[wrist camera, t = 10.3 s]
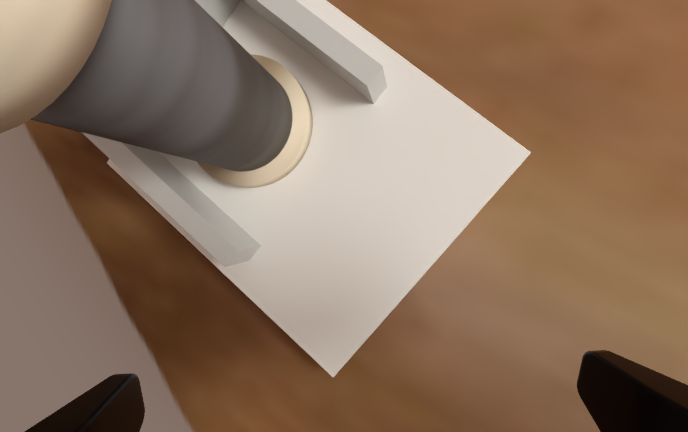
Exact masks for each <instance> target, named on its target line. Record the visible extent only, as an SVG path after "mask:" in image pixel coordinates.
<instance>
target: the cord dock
mask: <svg viewBox="0 0 688 432" xmlns="http://www.w3.org/2000/svg"><path fill="white" fill-rule="evenodd" d="M195 1H196V2H197V3H198V4H199V5H200V6H201V7H202V8H203V9H204V10H205V11H206V12H207V13H208V14H209V15H210V16H211V17H212V18H213V19H214V20H215V21H216V22H218V23H219V24H220V25H221V26H222V27H223V28H224V29H225V30H226V31H227V32H228V33H229V34H230V35H231V36H232V37H233V38H234V39H235V40H236V41H237V42H238V43H239V44H240V45H241V46H242V47H243V48H244V49H245V50H246V51H247V52H248V53H249V54H252V55H260V56H264V57H267V58H270V59H272V60H274V61H276V62H278V63H279V64H281V65H282V66H284V67H285V68H286V69H287V70H288V71H289V72H290V73H291V74H292V75H293V76H294V77H295V79H296V80H297V81H298V82H299V83H300V85H301V86H302V87H303V89H304V91H305V92H306V94H307V97H308V99H309V102H310V106H311V109H312V117H313V127H312V135H311V139H310V143H309V145H308V148H307V150H306V152H305V154H304V156H303V158H302V159H301V161H300V162H299V164H298V165H297V166H296V167H295V168H294V169H293V170H292V171H291V172H290V173H289V174H288V175H287V176H285V177H284V178H282V179H281V180H279V181H277V182H275V183H273V184H270V185H266V186H262V187H252V188H249V187H241V186H235V185H230V184H226V183H223V182H221V181H219V180H217V179H215V178H213V177H212V176H210V175H209V174H208V173H206V172H205V171H204V170H203V169H202V168H201V167H200V166H199V164H198V163H197V162H196V161H193V160H189V159H185V158H182V157H178V156H174V155H170V154H166V153H162V152H158V151H154V150H150V149H146V148H142V147H138V146H134V145H130V144H126V143H122V142H118V141H114V140H110V139H106V138H102V137H98V136H94V135H90V134H86V133H83V132H82V133H83V134H84V135H85V136H86V137H87V138H88V139H89V140H90V141H91V142H92V143H93V144H94V145H96V146H97V147H98V148H99V149H100V150H101V151H102V152H103V153H104V154H105V155H106V156H107V157H108V158H109V160H108V162H107V164H108V165H109V166H110V167H111V168H112V169H114V170H115V171H116V172H117V173H118V174H119V175H120V176H121V177H122V178H123V179H124V180H125V181H126V182H127V183H128V184H129V185H130V186H131V187H133V188H134V189H135V190H136V191H137V192H138V193H139V194H140V195H141V196H142V197H143V198H144V199H145V200H146V201H147V202H148V203H149V204H150V205H152V206H153V207H154V208H155V209H156V210H157V211H158V212H159V213H160V214H161V215H162V216H163V217H164V218H165V219H166V220H167V221H168V222H169V223H170V224H172V225H173V226H174V227H175V228H176V229H177V230H178V231H179V232H180V233H181V234H182V235H183V236H184V237H185V238H186V239H187V240H188V241H189V242H191V243H192V244H193V245H194V246H195V247H196V248H197V249H198V250H199V251H200V252H201V253H202V254H203V255H204V256H205V257H206V258H207V259H208V260H210V261H211V262H212V263H213V264H214V265H215V266H216V267H217V268H218V269H219V270H220V271H221V272H222V273H223V274H224V275H225V276H226V277H227V278H229V279H230V280H231V281H232V282H233V283H234V284H235V285H236V286H237V287H238V288H239V289H240V290H241V291H242V292H243V293H244V294H245V295H246V296H248V297H249V298H250V299H251V300H252V301H253V302H254V303H255V304H256V305H257V306H258V307H259V308H260V309H261V310H262V311H263V312H264V313H265V314H266V315H268V316H269V317H270V318H271V319H272V320H273V321H274V322H275V323H276V324H277V325H278V326H279V327H280V328H281V329H282V330H283V331H284V332H285V333H287V334H288V335H289V336H290V337H291V338H292V339H293V340H294V341H295V342H296V343H297V344H298V345H299V346H300V347H301V348H302V349H303V350H304V351H306V352H307V353H308V354H309V355H310V356H311V357H312V358H313V359H314V360H315V361H316V362H317V363H318V364H319V365H320V366H321V367H322V368H323V369H325V370H326V371H327V372H328V373H329V374H330V375H331V376H332V377H334V376H335V375H336V374H337V373H338V371H339V370H340V369H341V368H342V367H343V366H344V365H345V364H346V362H347V361H348V360H349V359H350V358H351V357H352V356H353V354H354V353H355V352H356V351H357V350H358V349H359V348H360V346H361V345H362V344H363V343H364V342H365V341H366V340H367V338H368V337H369V336H370V335H371V334H372V333H373V332H374V331H375V329H376V328H377V327H378V326H379V325H380V324H381V323H382V321H383V320H384V319H385V318H386V317H387V316H388V315H389V313H390V312H391V311H392V310H393V309H394V308H395V307H396V306H397V304H398V303H399V302H400V301H401V300H402V299H403V298H404V296H405V295H406V294H407V293H408V292H409V291H410V290H411V288H412V287H413V286H414V285H415V284H416V283H417V282H418V281H419V279H420V278H421V277H422V276H423V275H424V274H425V273H426V271H427V270H428V269H429V268H430V267H431V266H432V265H433V263H434V262H435V261H436V260H437V259H438V258H439V257H440V256H441V254H442V253H443V252H444V251H445V250H446V249H447V248H448V246H449V245H450V244H451V243H452V242H453V241H454V240H455V238H456V237H457V236H458V235H459V234H460V233H461V232H462V230H463V229H464V228H465V227H466V226H467V225H468V224H469V223H470V221H471V220H472V219H473V218H474V217H475V216H476V215H477V213H478V212H479V211H480V210H481V209H482V208H483V207H484V205H485V204H486V203H487V202H488V201H489V200H490V199H491V198H492V196H493V195H494V194H495V193H496V192H497V191H498V190H499V188H500V187H501V186H502V185H503V184H504V183H505V182H506V180H507V179H508V178H509V177H510V176H511V175H512V174H513V173H514V171H515V170H516V169H517V168H518V167H519V166H520V165H521V163H522V162H523V161H524V160H525V159H526V158H527V157H528V155H529V154H530V153H531V152H530V151H528V150H527V149H526V148H524V147H523V146H521V145H520V144H519V143H517V142H516V141H515V140H513V139H512V138H511V137H509V136H508V135H507V134H505V133H504V132H503V131H501V130H500V129H499V128H497V127H496V126H495V125H493V124H492V123H490V122H489V121H488V120H486V119H485V118H484V117H482V116H481V115H480V114H478V113H477V112H476V111H474V110H473V109H472V108H470V107H469V106H468V105H466V104H465V103H464V102H462V101H461V100H460V99H458V98H457V97H455V96H454V95H453V94H451V93H450V92H449V91H447V90H446V89H445V88H443V87H442V86H441V85H439V84H438V83H437V82H435V81H434V80H433V79H431V78H430V77H429V76H427V75H426V74H424V73H423V72H422V71H420V70H419V69H418V68H416V67H415V66H414V65H412V64H411V63H410V62H408V61H407V60H406V59H404V58H403V57H402V56H400V55H399V54H398V53H396V52H395V51H394V50H392V49H391V48H389V47H388V46H387V45H385V44H384V43H383V42H381V41H380V40H379V39H377V38H376V37H375V36H373V35H372V34H371V33H369V32H368V31H367V30H365V29H364V28H363V27H361V26H360V25H358V24H357V23H356V22H354V21H353V20H352V19H350V18H349V17H348V16H346V15H345V14H344V13H342V12H341V11H340V10H338V9H337V8H336V7H334V6H333V5H332V4H330V3H329V2H328V1H326V0H195Z"/></svg>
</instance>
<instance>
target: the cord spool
mask: <svg viewBox="0 0 688 432" xmlns="http://www.w3.org/2000/svg"><path fill="white" fill-rule="evenodd" d="M30 119H31V120H35V121H39V122H43V123H47V124H51V125H55V126H59V127H63V128H67V129H71V130H75V131H79V132H83V133H86V134H90V135H94V136H98V137H102V138H106V139H110V140H114V141H118V142H122V143H126V144H130V145H134V146H138V147H142V148H146V149H150V150H154V151H158V152H162V153H166V154H170V155H174V156H178V157H182V158H185V159H189V160H193V161H196V162H197V163H198V164H199V166H200V167H201V168H202V169H203V170H204V171H205V172H206V173H208V174H209V175H210V176H212V177H213V178H215V179H217V180H219V181H221V182H223V183H226V184H230V185H235V186H241V187H249V188H252V187H262V186H266V185H270V184H273V183H275V182H277V181H279V180H281V179H282V178H284V177H285V176H287V175H288V174H289V173H290V172H291V171H292V170H293V169H294V168H295V167H296V166H297V165H298V164H299V162H300V161H301V159H302V158H303V156H304V154H305V152H306V150H307V148H308V145H309V143H310V139H311V135H312V127H313V117H312V109H311V106H310V102H309V99H308V97H307V94H306V92H305V91H304V89H303V87H302V86H301V85H300V83H299V82H298V81H297V80H296V79H295V77H294V76H293V75H292V74H291V73H290V72H289V71H288V70H287V69H286V68H285V67H284V66H282V65H281V64H279V63H278V62H276V61H274V60H272V59H270V58H267V57H264V56H260V55H252V54H249V53H248V52H247V51H246V50H245V49H244V48H243V47H242V46H241V45H240V44H239V43H238V42H237V41H236V40H235V39H234V38H233V37H232V36H231V35H230V34H229V33H228V32H227V31H226V30H225V29H224V28H223V27H222V26H221V25H220V24H219V23H218V22H216V21H215V20H214V19H213V18H212V17H211V16H210V15H209V14H208V13H207V12H206V11H205V10H204V9H203V8H202V7H201V6H200V5H199V4H198V3H197V2H196V1H195V0H0V133H2V132H5V131H7V130H10V129H12V128H14V127H17V126H19V125H21V124H23V123H25V122H26V121H28V120H30Z"/></svg>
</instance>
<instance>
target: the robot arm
mask: <svg viewBox="0 0 688 432" xmlns="http://www.w3.org/2000/svg"><path fill="white" fill-rule="evenodd" d="M577 389H578V393H579V395H580V397H581V399H582V401H583V402H584V404H585V406H586V408H587V409H588V411H589V413H590V414H591V416H592V418H593V419H594V421H595V423H596V425H597V426H598V428H599V430H600V431H601V432H688V385H686V384H684V383H681V382H679V381H677V380H674V379H672V378H670V377H667V376H665V375H663V374H661V373H658V372H656V371H654V370H651V369H649V368H647V367H644V366H642V365H640V364H638V363H635V362H633V361H631V360H628V359H626V358H624V357H621V356H619V355H617V354H615V353H612V352H610V351H606V350H599V351H588V352H586V353H585V354H584V355H583V358H582V363H581V367H580V372H579V376H578V380H577ZM144 413H145V408H144V402H143V397H142V392H141V387H140V382H139V378H138V377H137V375H135V374H116V375H112V376H110V377H108V378H107V379H105V380H104V381H102V382H101V383H99V384H98V385H96V386H95V387H93V388H91V389H90V390H89V391H87V392H85V393H84V394H82V395H81V396H79V397H77V398H76V399H74V400H73V401H71V402H70V403H68V404H67V405H65V406H64V407H62V408H60V409H59V410H57V411H56V412H55V413H53V414H51V415H50V416H48V417H47V418H45V419H44V420H42V421H40V422H39V423H37V424H36V425H34V426H33V427H31V428H30V429H28V430H27V431H25V432H139V431H140V428H141V425H142V423H143V419H144Z"/></svg>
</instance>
